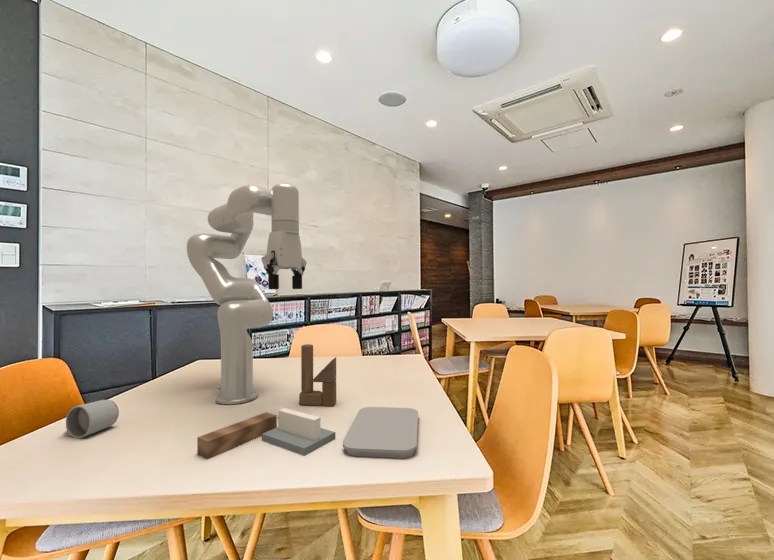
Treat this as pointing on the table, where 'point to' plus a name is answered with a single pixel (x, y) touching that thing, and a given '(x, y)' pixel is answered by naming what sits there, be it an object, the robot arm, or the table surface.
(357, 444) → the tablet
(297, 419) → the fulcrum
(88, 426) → the grey hollow cylinder
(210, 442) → the walnut bar
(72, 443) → the table surface
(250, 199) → the robot arm
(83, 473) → the table surface
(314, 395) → the brown wooden block stack
